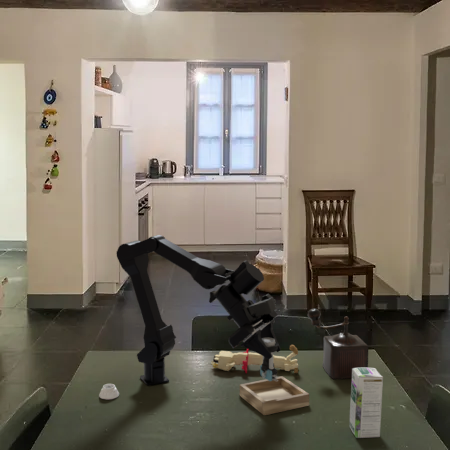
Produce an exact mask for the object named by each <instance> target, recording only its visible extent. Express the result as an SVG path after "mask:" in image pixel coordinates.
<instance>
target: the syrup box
mask: <svg viewBox="0 0 450 450" xmlns="http://www.w3.org/2000/svg"><path fill="white" fill-rule="evenodd" d="M383 381H384V376H383V375H381V373H380V372H379V371H378V370H377V368H375V367H369V366H368V367H360V368H353V369H352V379H351V386H350V387H351V388H350V401H349V402H350V405H349V407H350V408H349V429H350V430H351V432H352V434H353V435H354V437H355V439H364V438H367V439H368V438H380V436H381V424H382V423H381V422H382V402H383V383H384V382H383Z"/></svg>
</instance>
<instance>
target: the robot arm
mask: <svg viewBox="0 0 450 450" xmlns="http://www.w3.org/2000/svg"><path fill="white" fill-rule="evenodd" d="M151 253H155V254H157V255H158V256H160V257H161V258H164V259H165V260H167V261H169V262H170V263H172V264H173V265H175V266H177V267H178V268H180V269H182V270H184V271H185V272H187V273H188V274H189V275H190V276H191V278H192V279H193V281H194V282H196V284H198V285H199V286H200V287H202V288H203V289H205V290H211V289H214V288H217V287H219V286H220V287H219V288H218V289H216V290H211V291H210V292H209V299H208V302H209V303H210V304H212V303H214V302H218V303H219V304H220V305H221V306H222V308H223V309H224V310H225V311H226V313H227V314H228V316H227V317H226V318H227V319H228V321H232V320H233V322H234V323H235V324H236V325H237V326H238V328H237V329H236V330H235V331H234V332H232V334H231V335H229V336H228V344H229V345H230V346H231V347H232V349H234V348H236V347H238V346H239V345H240V347H241V348H242V347H243V348H245V349H246V350H247V349H249V350H250V351H253V353H258V354H260V355H262V356H264V357H266V358H268V359H270V358H271V357H272V354H271V353H270V351H269V349H268V348H267V346H266V345H265V343H264V342H263V340H262V338H267V337H269V338H274V339H275V341H276V342H278V340H277V336H276V334H275V331H274V324H275V322H276V321H275V319H276V318H277V317H278V316H279V315H278V313H277V312H276V311H277V306H276V303H277V300H276V299H274V297H273V296H272V295H271V294H269V293H267V294H265V295H263V296H261V300H259V301H258V302H254V301H253V300H251V299H249V300H247V299H246V298H245V297H244V295H249V294H251V292H252V291H254V290H255V289H256V288H257V287H258V286H259V285H260V284H261V283H262V282H264V280H265V278H264V274H263V272H262V271H261V270H260V268H259V267H256V266H255V265H254V264H252V263H249V261H248V260H244V261H243V262H241V263H240V264H239V266H238V267H237V268H236V269H235V270H233V269H229V268H226V267H225V266H224V265H223V264H221V263H220V262H215V261H213V260H210V259H205V258H201V257H198V256H196V255H194V254H193V253H191V252H189V251H188V250H186V249H184V248H183V247H180V246H179V245H177V244H175V243H173V242H172V241H171V240H168V239H167V238H166V237H164V235H161V234H158V235H153V236H150V237H148V238H147V239H144V240H133V241H130V242H126V243H122V244H120V245H119V246H118V248H117V250H116V253H115V255H116V258H117V260H118V262H119V264H120V266H121V268H122V270H123V271H124V272H125V273H126V274H127V275H128V276H129V278H130V281H131V284H132V287H133V291H134V294H135V297H136V302H137V303H138V308H139V310H140V314H141V317H142V321H143V324H144V331H143V344H144V347H143V348H142V349H141V350H139V352H138V353H136V357H137V360H138V362H139V363H142V364H143V375H140V376H139V378H140V380H141V381H143V383H144V384H145V385H146V386H152V385H157V384H163V383H168V382H170V379H169V378H168V377H167V376H166V374H165V373H166V372H165V370H166V368H165V364H166V363H165V357H168V356H169V355H170V354H171V351H172V350H173V349H174V347H175V345H176V340H175V339H176V338H177V336H176V335H175V333H174V328H173V326H172V324H170V323H169V324H168V325H167V324H166V323H165V322H164V321H163V318H162V315H161V312H160V309H159V306H158V303H157V300H156V296H155V293H154V289H153V286H152V283H151V280H150V276H149V273H148V267H149V261H150V260H149V254H151ZM228 282H229V283H228ZM226 283H228V284H226ZM241 342H242V343H241ZM240 343H241V344H240ZM278 343H279V342H278ZM280 351H281V346H280V345H279V346H278V349H277V351H276V352H277V353H279V352H280ZM276 352H275V353H276Z"/></svg>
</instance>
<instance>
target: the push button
mask: <svg viewBox="0 0 450 450" xmlns="http://www.w3.org/2000/svg"><path fill="white" fill-rule="evenodd" d="M262 340H263V342H264V343H265V345H266V346H267V348H268V349H269V351H270V353H271V354H272V357H271V358H270V359H268V358H266V357H264V356H263V363H262V365H259V375H260V376H261V377H262V380H265V379H267V380H269V381H273V380H274V381H276V380H277V379H276V378H278V377H279V376H278V368H274V363H273V355H274V353H276V351H277V349H278V346H280V345H279V342H276V341H275V339H274V338H269V337H267V338H262ZM277 381H278V380H277Z"/></svg>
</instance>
